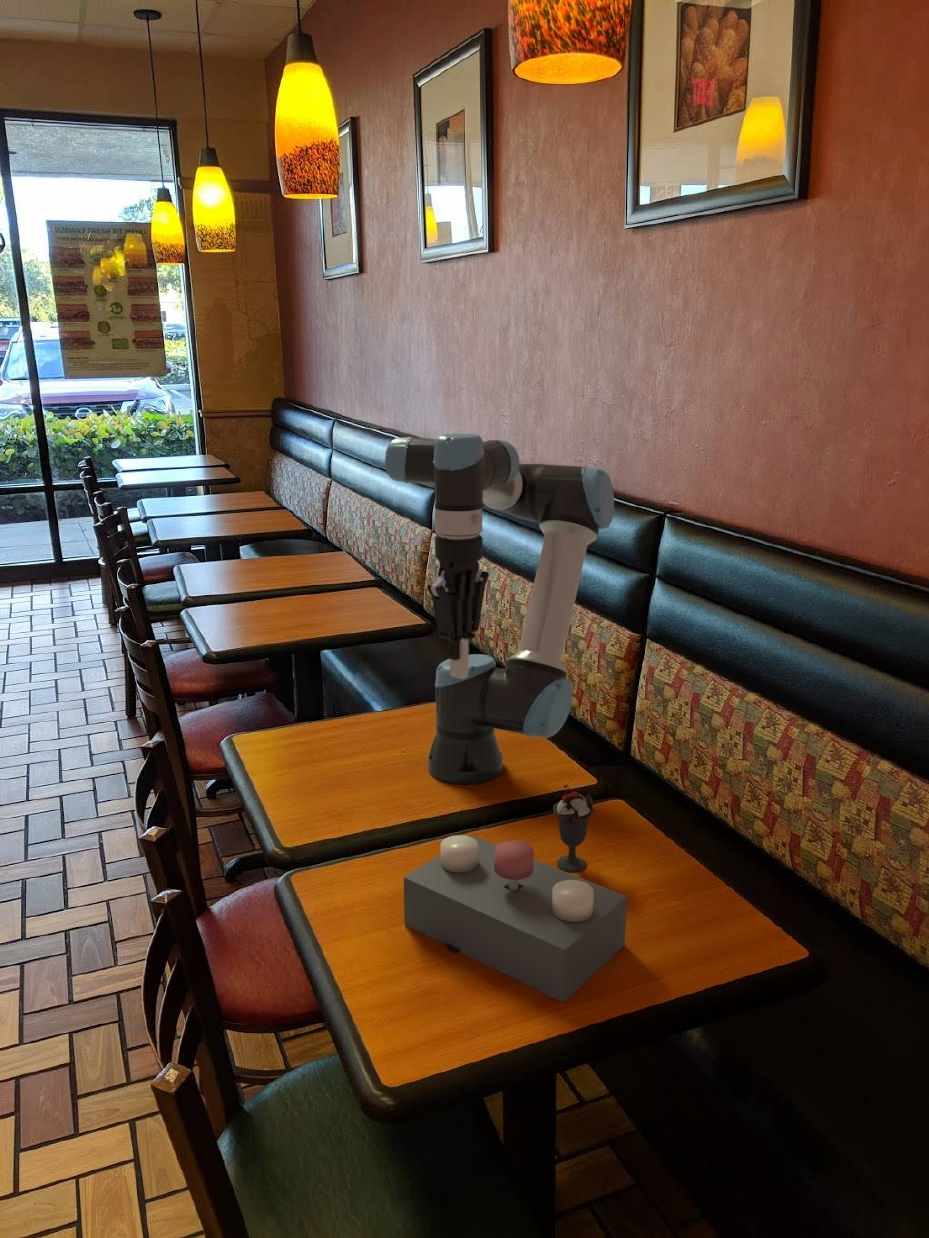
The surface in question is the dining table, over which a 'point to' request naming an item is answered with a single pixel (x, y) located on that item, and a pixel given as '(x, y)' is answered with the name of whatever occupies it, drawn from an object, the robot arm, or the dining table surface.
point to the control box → (515, 922)
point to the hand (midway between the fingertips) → (459, 676)
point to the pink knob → (513, 861)
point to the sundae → (573, 827)
